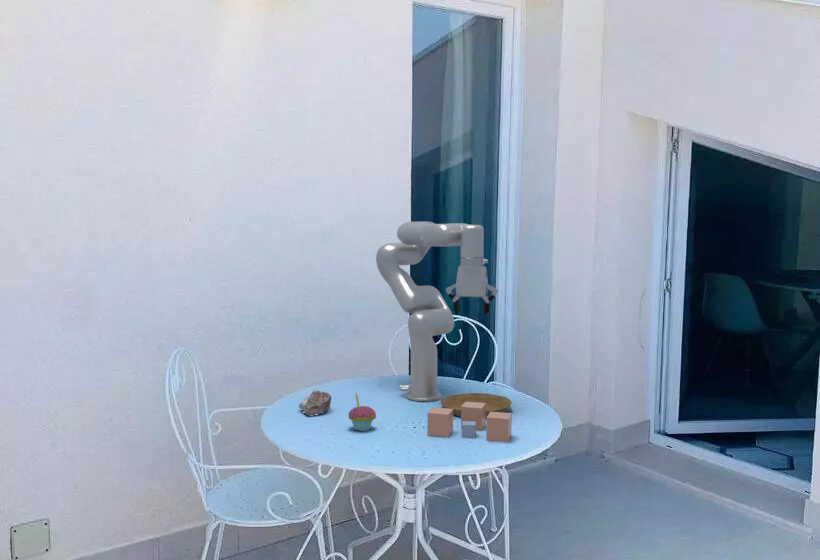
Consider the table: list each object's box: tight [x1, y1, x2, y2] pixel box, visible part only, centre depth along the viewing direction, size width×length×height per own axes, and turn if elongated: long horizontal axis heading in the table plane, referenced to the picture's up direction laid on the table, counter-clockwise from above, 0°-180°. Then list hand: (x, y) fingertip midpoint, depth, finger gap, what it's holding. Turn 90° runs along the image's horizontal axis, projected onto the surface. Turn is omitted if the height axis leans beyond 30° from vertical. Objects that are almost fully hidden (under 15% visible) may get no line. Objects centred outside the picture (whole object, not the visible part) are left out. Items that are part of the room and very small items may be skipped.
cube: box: [461, 421, 477, 439], centre depth 239 cm, size 4×4×4 cm
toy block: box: [460, 402, 486, 431], centre depth 248 cm, size 6×6×7 cm
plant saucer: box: [439, 392, 513, 419], centre depth 267 cm, size 24×24×3 cm
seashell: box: [298, 390, 332, 416], centre depth 265 cm, size 14×9×10 cm
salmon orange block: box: [485, 412, 513, 443], centre depth 236 cm, size 6×6×7 cm
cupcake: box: [348, 392, 377, 432], centre depth 245 cm, size 9×8×12 cm
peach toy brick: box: [426, 406, 454, 438], centre depth 241 cm, size 6×6×7 cm
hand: (471, 314), depth 260 cm, fingers open, 9 cm apart
